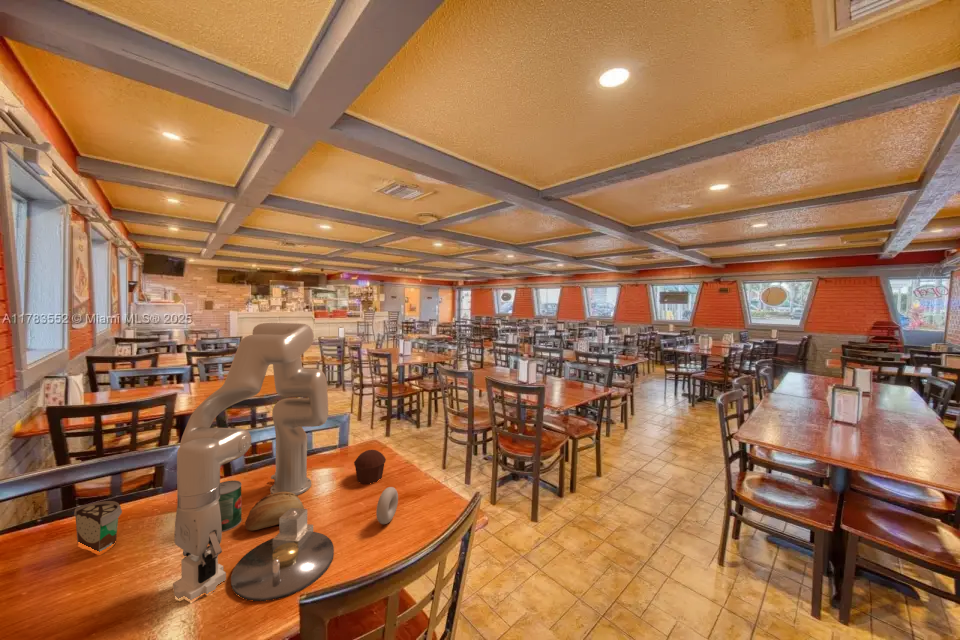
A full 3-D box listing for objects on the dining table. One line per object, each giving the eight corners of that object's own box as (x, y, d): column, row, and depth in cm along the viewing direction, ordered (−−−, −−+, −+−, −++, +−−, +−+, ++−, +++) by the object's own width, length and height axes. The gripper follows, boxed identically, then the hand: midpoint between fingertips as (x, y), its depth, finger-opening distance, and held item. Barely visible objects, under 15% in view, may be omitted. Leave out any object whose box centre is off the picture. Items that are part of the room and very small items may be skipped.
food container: (133, 542, 94) (133, 505, 93) (102, 557, 88) (101, 518, 87) (105, 531, 98) (105, 496, 97) (74, 545, 92) (73, 508, 92)
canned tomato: (247, 520, 104) (247, 484, 104) (218, 536, 97) (218, 497, 96) (231, 513, 107) (231, 478, 107) (202, 527, 100) (201, 490, 100)
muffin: (379, 487, 125) (380, 459, 125) (348, 486, 125) (349, 458, 125) (389, 471, 137) (389, 446, 136) (360, 470, 137) (361, 445, 137)
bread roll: (243, 523, 103) (243, 496, 102) (300, 506, 112) (300, 482, 111) (246, 541, 95) (246, 512, 95) (306, 521, 104) (306, 495, 104)
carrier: (209, 580, 81) (209, 542, 81) (294, 527, 101) (294, 496, 101) (272, 616, 72) (272, 574, 72) (352, 550, 92) (352, 517, 92)
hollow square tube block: (165, 593, 77) (165, 562, 77) (210, 566, 85) (210, 538, 85) (188, 608, 74) (187, 576, 74) (232, 579, 82) (232, 550, 82)
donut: (384, 532, 100) (385, 498, 99) (373, 531, 100) (374, 496, 100) (399, 512, 110) (400, 481, 109) (389, 511, 110) (389, 480, 110)
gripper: (158, 494, 79) (159, 573, 80) (202, 514, 72) (202, 600, 73) (197, 479, 86) (197, 552, 87) (240, 497, 79) (240, 575, 79)
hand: (199, 573), depth 80 cm, fingers closed on hollow square tube block, 4 cm apart
